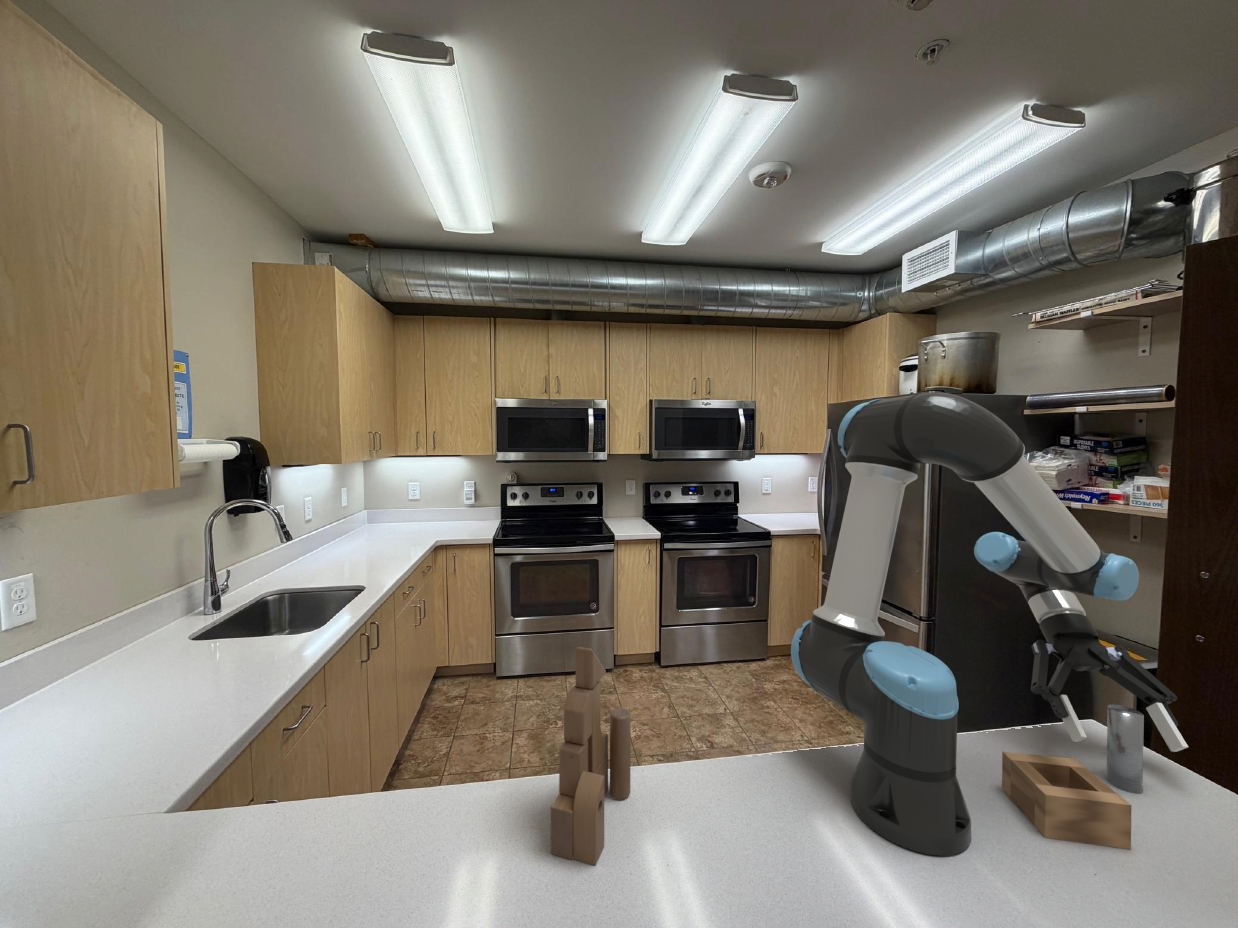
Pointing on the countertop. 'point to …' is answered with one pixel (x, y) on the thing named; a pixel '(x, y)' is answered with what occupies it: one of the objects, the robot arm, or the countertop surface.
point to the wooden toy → (588, 766)
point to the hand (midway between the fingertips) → (1129, 744)
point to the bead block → (1066, 800)
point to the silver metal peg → (1125, 748)
